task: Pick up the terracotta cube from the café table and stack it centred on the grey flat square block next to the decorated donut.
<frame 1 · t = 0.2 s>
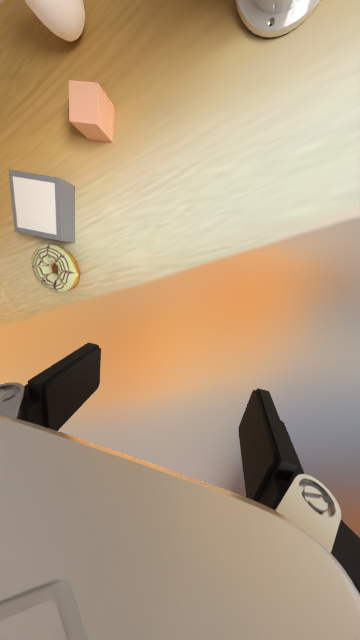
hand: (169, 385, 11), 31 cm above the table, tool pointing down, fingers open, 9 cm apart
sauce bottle: (77, 29, 31), on the table
decorated donut: (63, 268, 45), on the table
terracotta cube: (101, 124, 34), on the table
grey flat square block: (52, 211, 41), on the table
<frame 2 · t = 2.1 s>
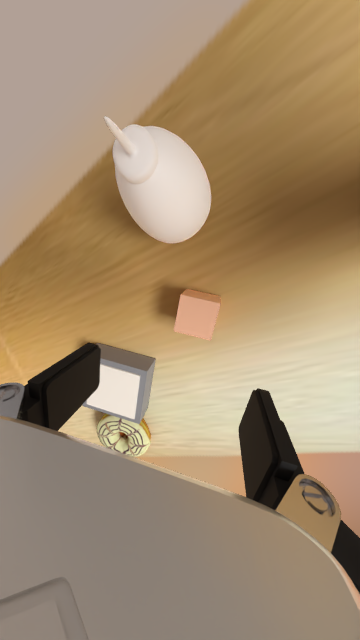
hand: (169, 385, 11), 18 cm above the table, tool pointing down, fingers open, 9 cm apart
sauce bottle: (182, 214, 25), on the table
decorated donut: (129, 424, 39), on the table
terracotta cube: (199, 308, 28), on the table
grey flat square block: (123, 376, 35), on the table
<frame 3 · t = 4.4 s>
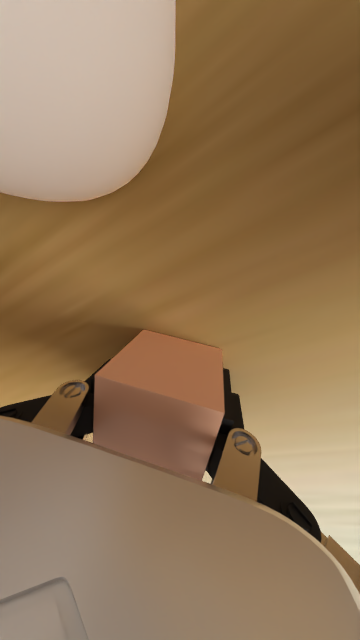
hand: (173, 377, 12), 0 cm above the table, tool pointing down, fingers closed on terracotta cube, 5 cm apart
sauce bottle: (119, 139, 9), on the table
terracotta cube: (174, 372, 12), on the table, touching gripper
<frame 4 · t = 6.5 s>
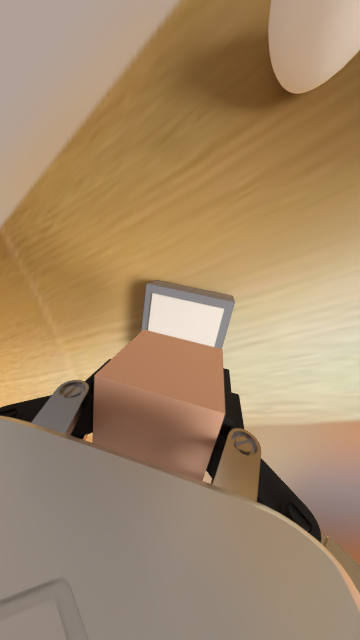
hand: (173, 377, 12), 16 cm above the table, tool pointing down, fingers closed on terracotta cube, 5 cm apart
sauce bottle: (299, 70, 18), on the table
terracotta cube: (175, 372, 12), point 16 cm above the table, touching gripper
grey flat square block: (186, 323, 28), on the table
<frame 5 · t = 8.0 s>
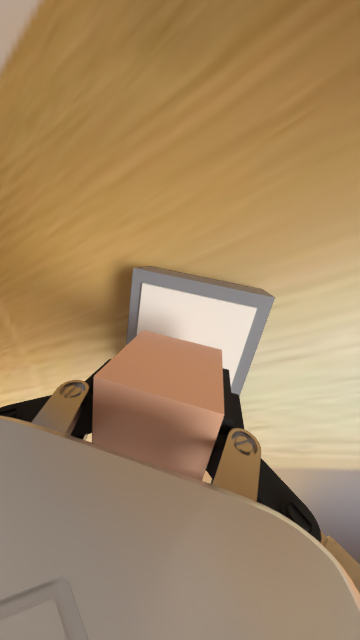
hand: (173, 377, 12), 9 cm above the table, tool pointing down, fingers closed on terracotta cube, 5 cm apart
terracotta cube: (174, 373, 12), point 8 cm above the table, touching gripper
grey flat square block: (192, 329, 20), on the table
when the fingers open (6 cm above the table, at t = 8.9 s): terracotta cube stays where it is, resting on grey flat square block.
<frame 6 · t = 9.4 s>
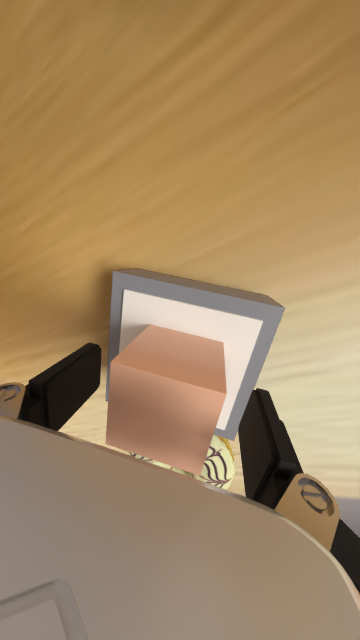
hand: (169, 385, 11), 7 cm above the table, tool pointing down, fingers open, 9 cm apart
decorated donut: (184, 436, 21), on the table
terracotta cube: (179, 364, 13), point 4 cm above the table, touching grey flat square block
grey flat square block: (187, 340, 17), on the table
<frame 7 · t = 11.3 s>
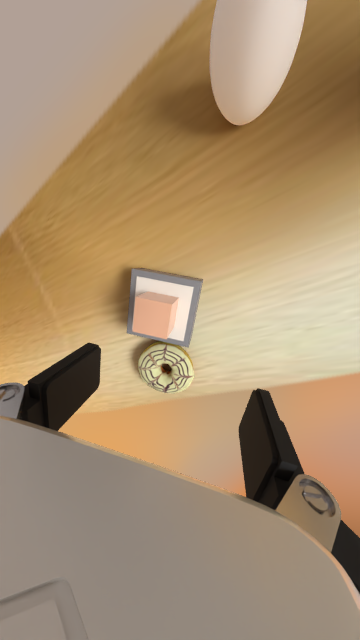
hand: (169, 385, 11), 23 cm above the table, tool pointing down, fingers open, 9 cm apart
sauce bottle: (241, 108, 24), on the table
decorated donut: (168, 362, 38), on the table
terracotta cube: (161, 309, 30), point 4 cm above the table, touching grey flat square block
grey flat square block: (167, 304, 34), on the table
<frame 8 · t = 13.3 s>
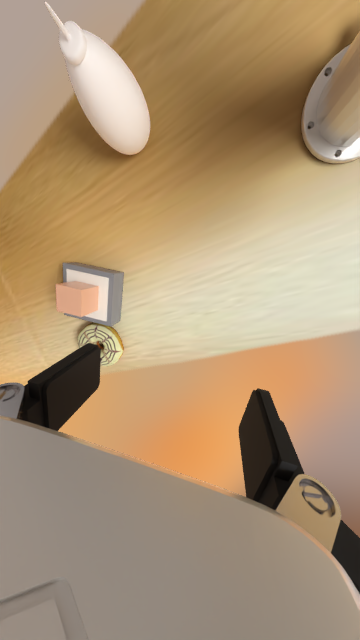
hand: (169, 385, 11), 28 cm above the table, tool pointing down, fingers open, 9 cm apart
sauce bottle: (137, 139, 32), on the table
decorated donut: (106, 341, 46), on the table
terracotta cube: (87, 295, 38), point 4 cm above the table, touching grey flat square block
grey flat square block: (99, 292, 42), on the table
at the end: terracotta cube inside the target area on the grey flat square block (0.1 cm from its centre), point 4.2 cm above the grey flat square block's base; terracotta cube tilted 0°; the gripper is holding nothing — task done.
